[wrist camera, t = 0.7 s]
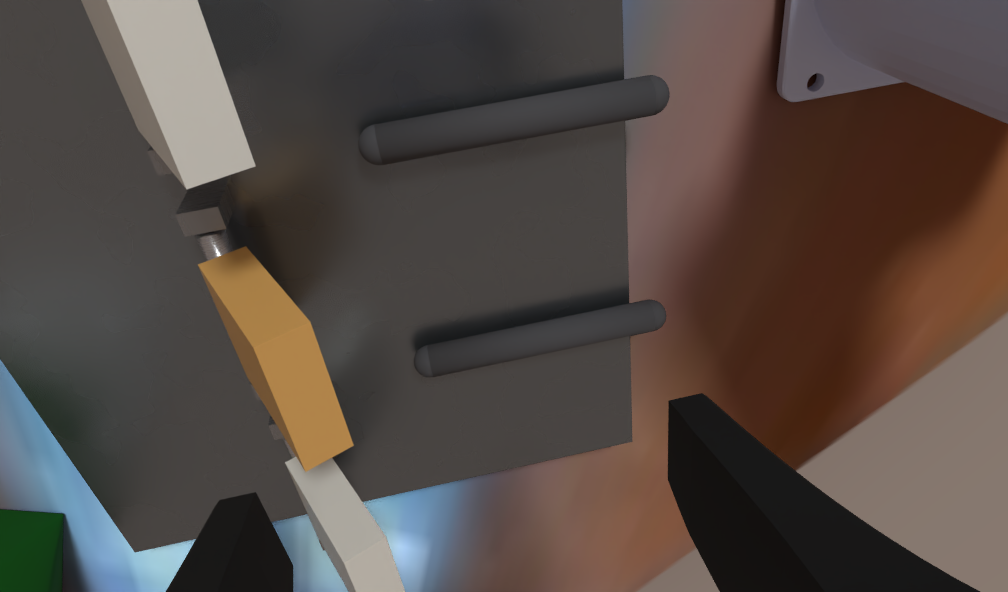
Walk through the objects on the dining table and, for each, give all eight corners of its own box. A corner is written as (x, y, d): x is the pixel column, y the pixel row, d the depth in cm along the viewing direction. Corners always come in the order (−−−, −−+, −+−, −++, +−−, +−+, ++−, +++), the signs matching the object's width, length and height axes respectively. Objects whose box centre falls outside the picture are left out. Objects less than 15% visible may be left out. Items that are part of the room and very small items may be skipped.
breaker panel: (596, -209, 15) (638, -221, 13) (619, 423, 26) (645, 478, 24) (-247, -87, 14) (-371, -76, 12) (151, 525, 25) (129, 595, 23)
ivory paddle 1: (124, -69, 13) (174, -64, 10) (195, 113, 15) (255, 166, 12) (56, -57, 12) (87, -48, 9) (138, 130, 14) (186, 189, 11)
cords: (661, 67, 18) (675, 78, 17) (659, 316, 22) (670, 334, 21) (354, 122, 17) (353, 136, 16) (416, 366, 21) (418, 387, 21)
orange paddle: (245, 246, 17) (310, 322, 14) (288, 357, 19) (353, 445, 16) (197, 264, 16) (253, 347, 13) (247, 376, 18) (305, 472, 15)
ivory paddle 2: (322, 442, 21) (385, 537, 18) (350, 517, 23) (413, 614, 20) (285, 462, 20) (343, 563, 17) (317, 537, 22) (376, 639, 19)
